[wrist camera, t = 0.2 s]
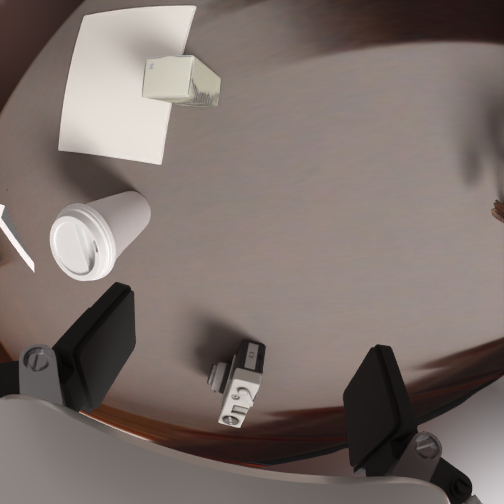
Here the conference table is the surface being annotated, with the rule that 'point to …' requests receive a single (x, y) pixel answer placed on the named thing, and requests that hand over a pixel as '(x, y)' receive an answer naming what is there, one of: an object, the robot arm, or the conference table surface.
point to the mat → (120, 82)
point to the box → (180, 81)
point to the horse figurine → (498, 211)
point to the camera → (238, 382)
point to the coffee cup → (97, 233)
